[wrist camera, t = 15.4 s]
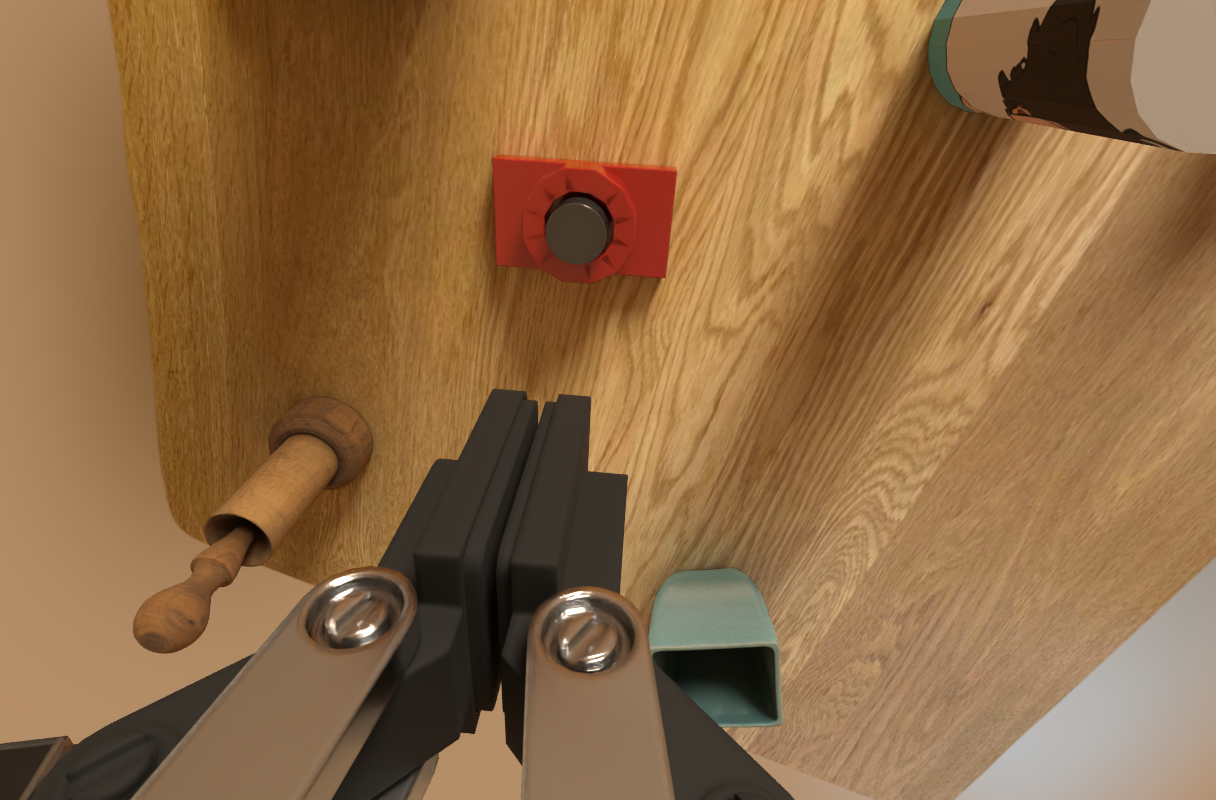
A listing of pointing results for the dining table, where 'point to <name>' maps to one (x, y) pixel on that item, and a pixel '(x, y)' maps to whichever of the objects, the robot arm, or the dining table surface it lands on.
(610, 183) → the button block
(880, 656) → the dining table surface
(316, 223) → the dining table surface
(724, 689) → the flower pot
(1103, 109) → the beige cylindrical canister
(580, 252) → the button
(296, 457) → the mortar and pestle
